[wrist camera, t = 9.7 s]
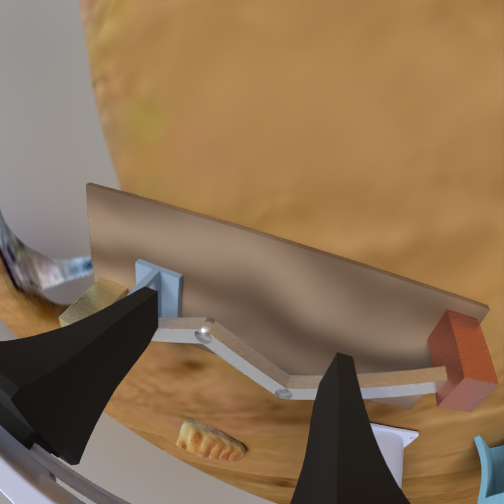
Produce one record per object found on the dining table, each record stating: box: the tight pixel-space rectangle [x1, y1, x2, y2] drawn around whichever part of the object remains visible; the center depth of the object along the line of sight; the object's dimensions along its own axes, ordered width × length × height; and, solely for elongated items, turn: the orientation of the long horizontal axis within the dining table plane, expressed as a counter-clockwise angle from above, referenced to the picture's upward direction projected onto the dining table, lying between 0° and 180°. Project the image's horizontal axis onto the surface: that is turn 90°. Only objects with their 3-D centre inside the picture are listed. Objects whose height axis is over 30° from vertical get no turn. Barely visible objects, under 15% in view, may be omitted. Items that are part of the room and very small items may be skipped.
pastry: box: [176, 418, 246, 461], centre depth 37 cm, size 9×7×4 cm
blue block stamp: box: [127, 259, 182, 317], centre depth 22 cm, size 4×6×10 cm, turn 170°
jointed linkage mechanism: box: [59, 277, 498, 412], centre depth 21 cm, size 5×32×6 cm, turn 92°
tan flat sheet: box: [86, 183, 490, 409], centre depth 24 cm, size 13×32×1 cm, turn 80°
